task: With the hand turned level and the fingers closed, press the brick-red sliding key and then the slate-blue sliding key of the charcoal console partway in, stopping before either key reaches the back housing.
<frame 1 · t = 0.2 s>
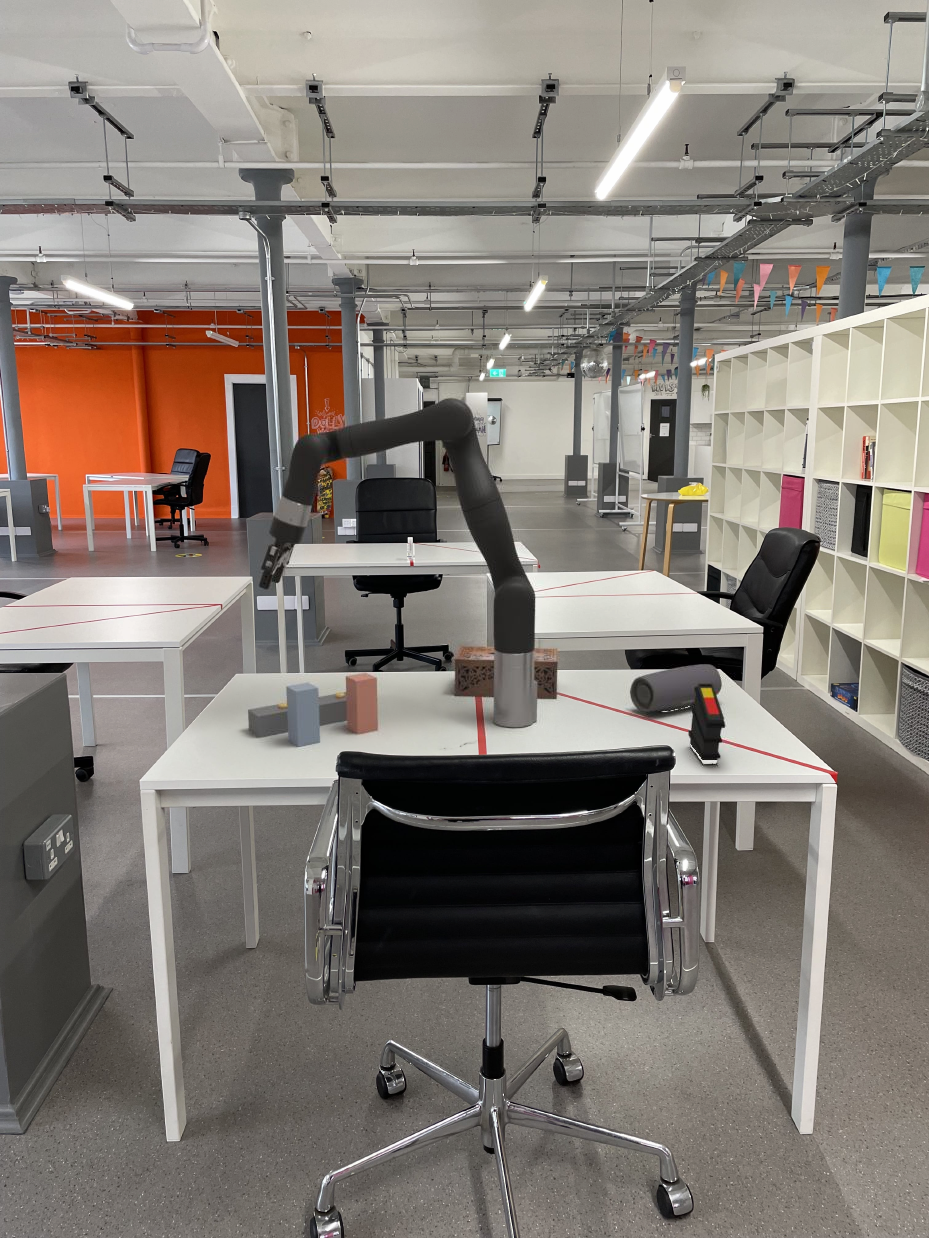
hand: (269, 585, 205), 31 cm above the table, tool tilted 20°, fingers open, 8 cm apart
bluetooth speaker: (675, 709, 217), on the table
console: (334, 740, 194), on the table
tissue box cover: (507, 691, 232), on the table
black stepped tower: (704, 758, 183), on the table
blue key: (303, 714, 188), point 7 cm above the table, slide at 0.0 cm
red key: (361, 703, 196), point 7 cm above the table, slide at 0.0 cm
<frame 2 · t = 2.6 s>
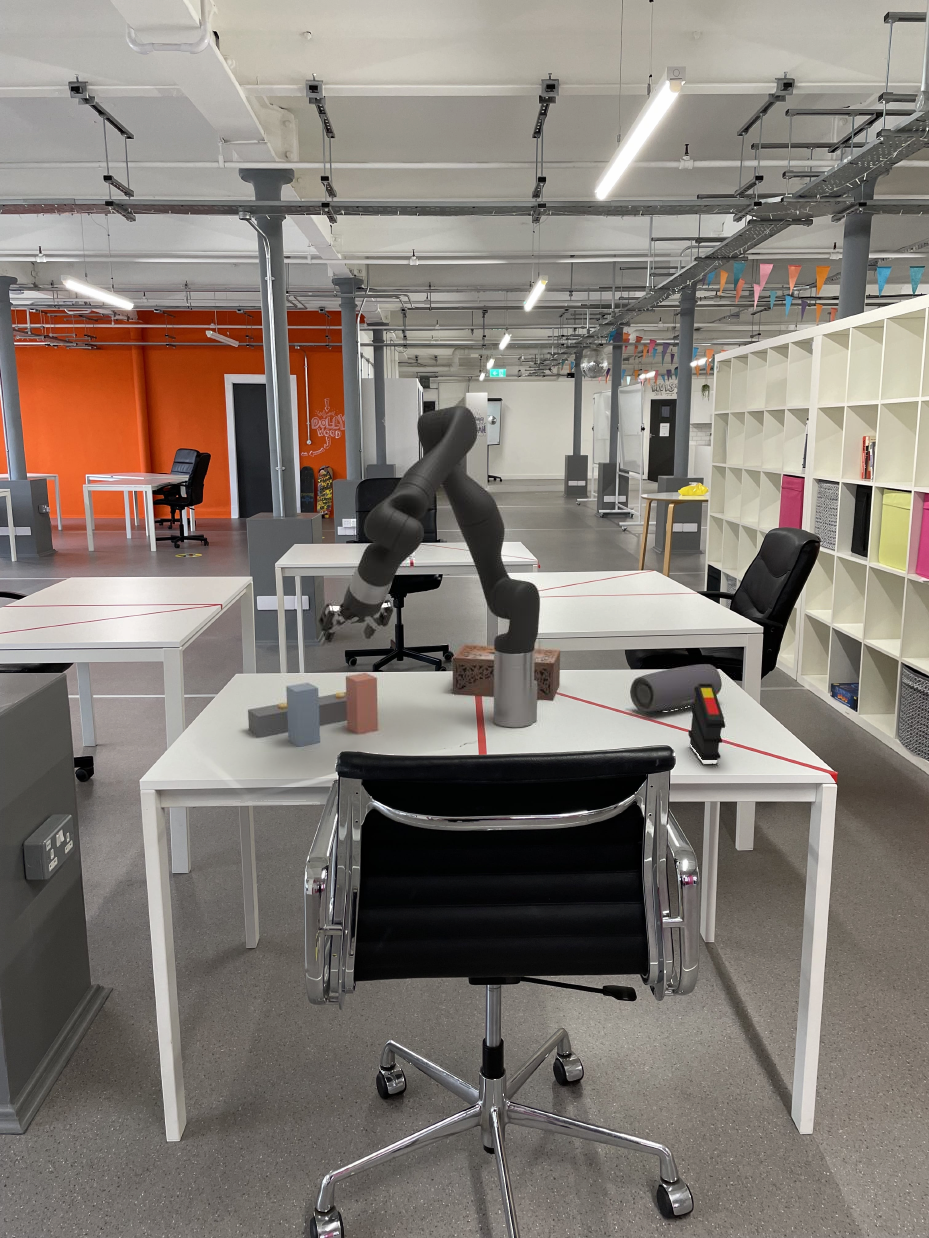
hand: (347, 637, 183), 24 cm above the table, tool tilted 45°, fingers open, 8 cm apart
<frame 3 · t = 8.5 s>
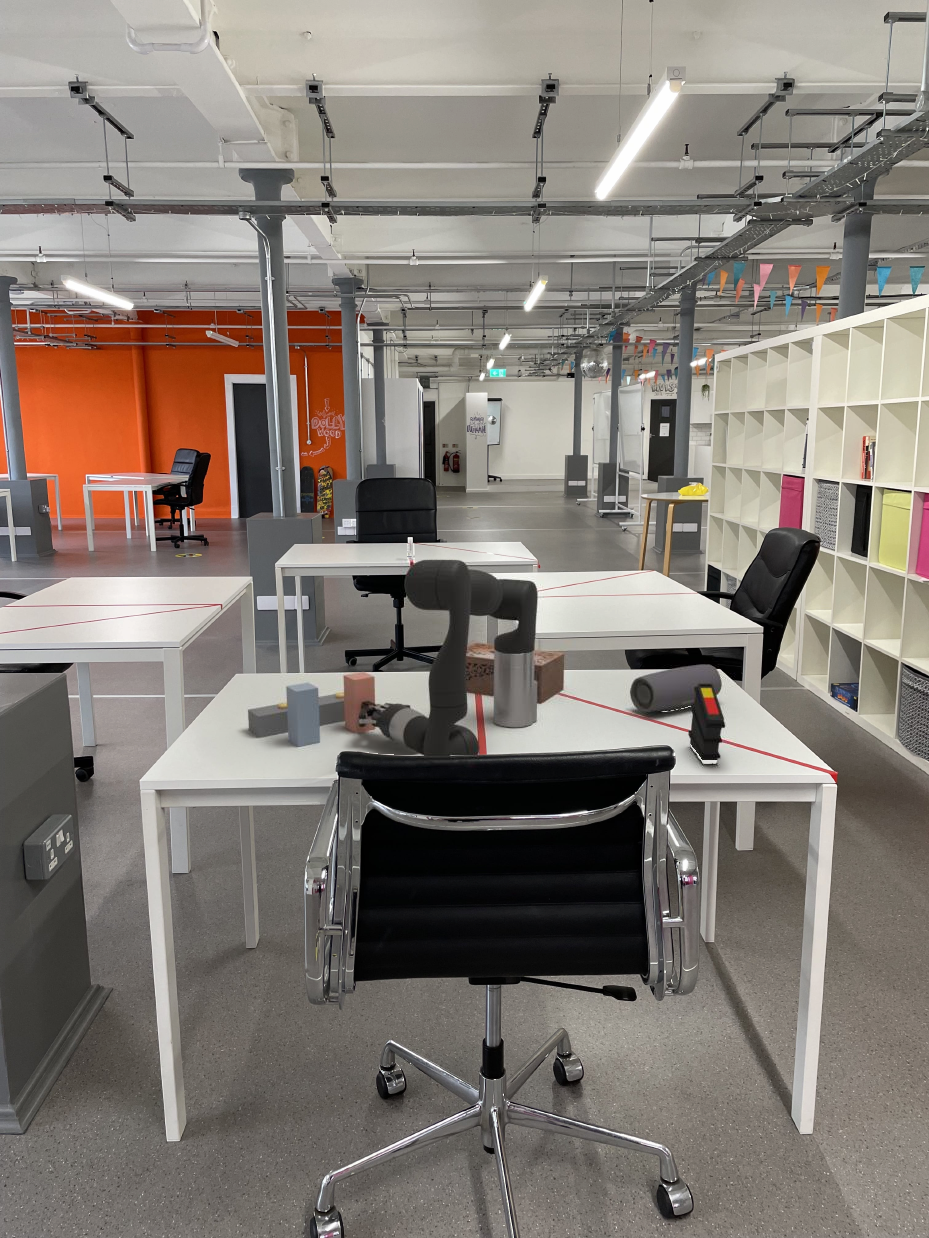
hand: (365, 705, 195), 7 cm above the table, tool horizontal, fingers closed
red key: (359, 702, 197), point 7 cm above the table, slide at 1.1 cm, touching gripper
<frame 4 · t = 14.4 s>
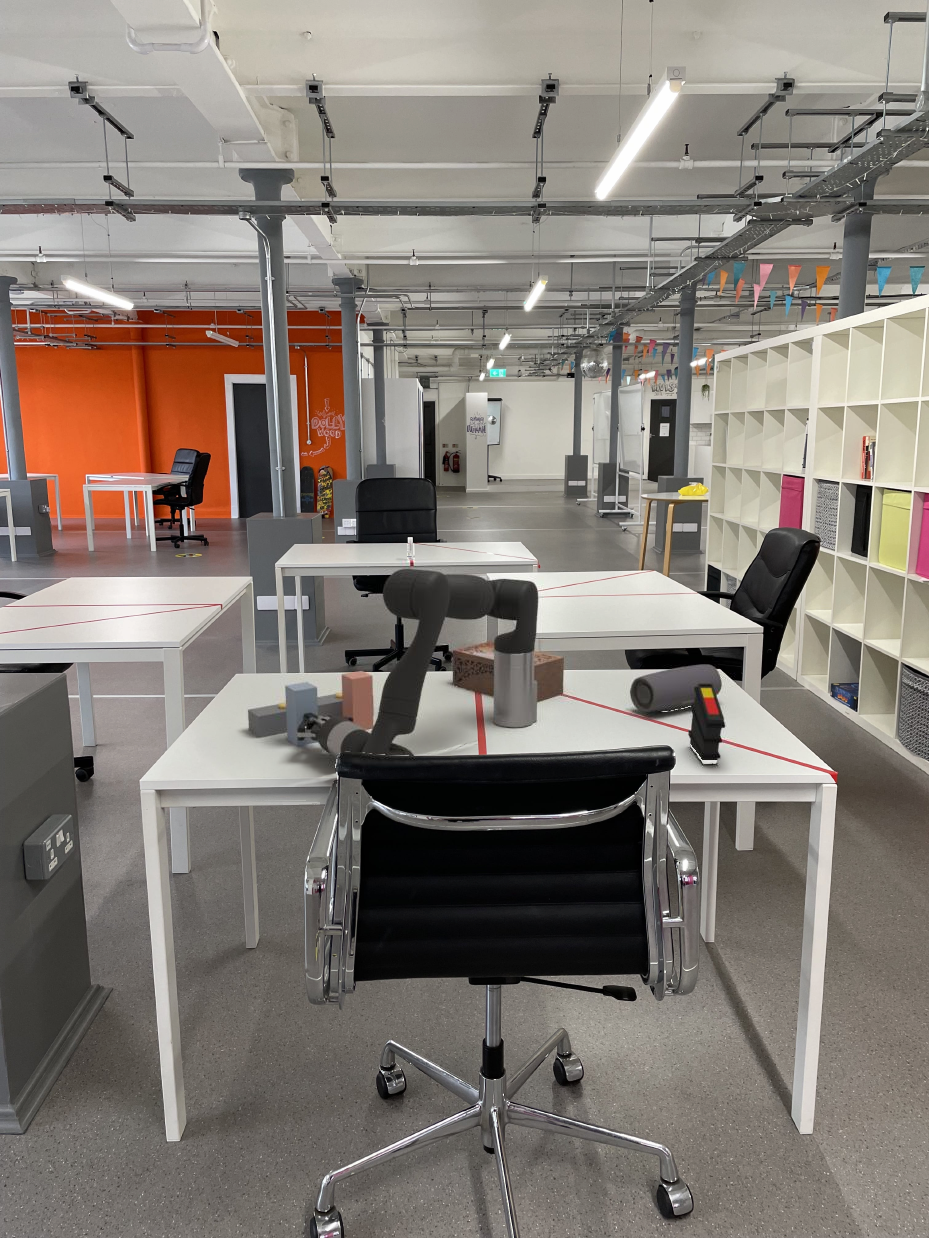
hand: (307, 717, 187), 7 cm above the table, tool horizontal, fingers closed
blue key: (302, 713, 189), point 7 cm above the table, slide at 0.6 cm, touching gripper
red key: (357, 701, 198), point 7 cm above the table, slide at 2.0 cm
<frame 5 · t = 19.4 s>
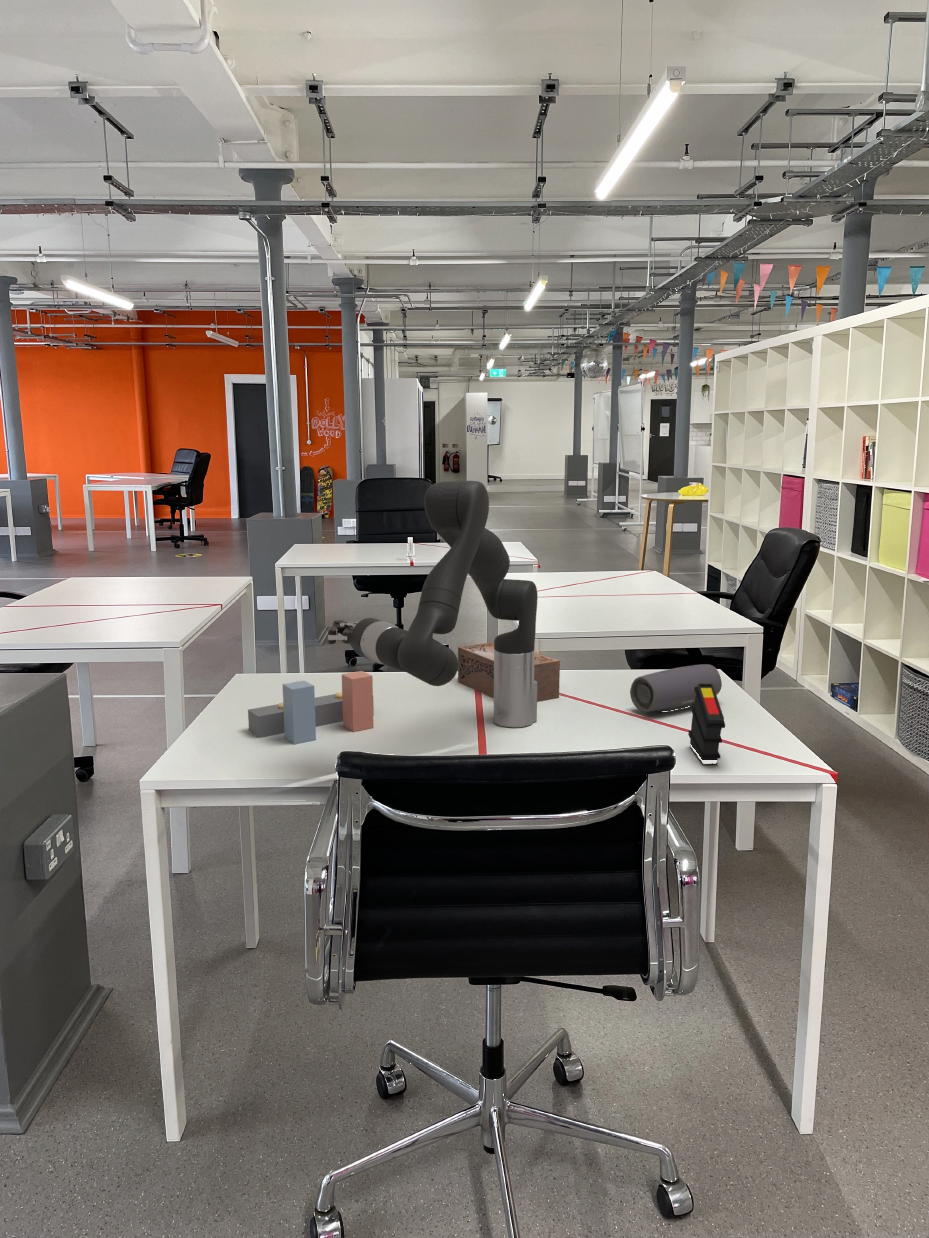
hand: (336, 625, 177), 28 cm above the table, tool horizontal, fingers closed
blue key: (299, 712, 190), point 7 cm above the table, slide at 1.9 cm
at the end: red key slide at 2.0 cm; blue key slide at 1.9 cm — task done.
